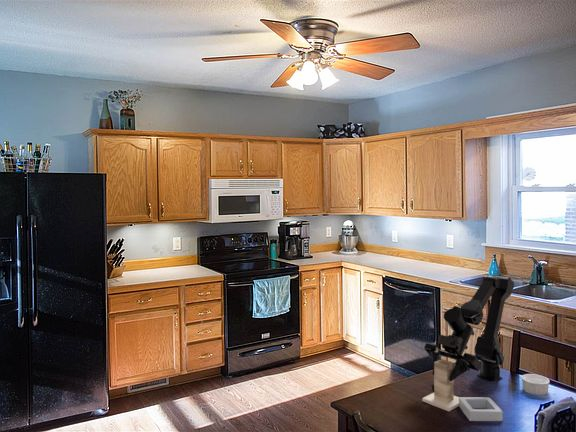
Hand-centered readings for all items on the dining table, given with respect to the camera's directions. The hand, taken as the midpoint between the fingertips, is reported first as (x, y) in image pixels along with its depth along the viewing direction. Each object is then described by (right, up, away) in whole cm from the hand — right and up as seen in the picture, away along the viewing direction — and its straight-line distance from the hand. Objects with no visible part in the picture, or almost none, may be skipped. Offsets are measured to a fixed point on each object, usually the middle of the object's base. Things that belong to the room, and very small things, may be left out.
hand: (441, 377), depth 154 cm
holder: (+10, -9, -7) cm, 15 cm away
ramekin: (+36, -8, +10) cm, 39 cm away
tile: (+1, -9, +1) cm, 9 cm away
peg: (+1, -8, +1) cm, 8 cm away
